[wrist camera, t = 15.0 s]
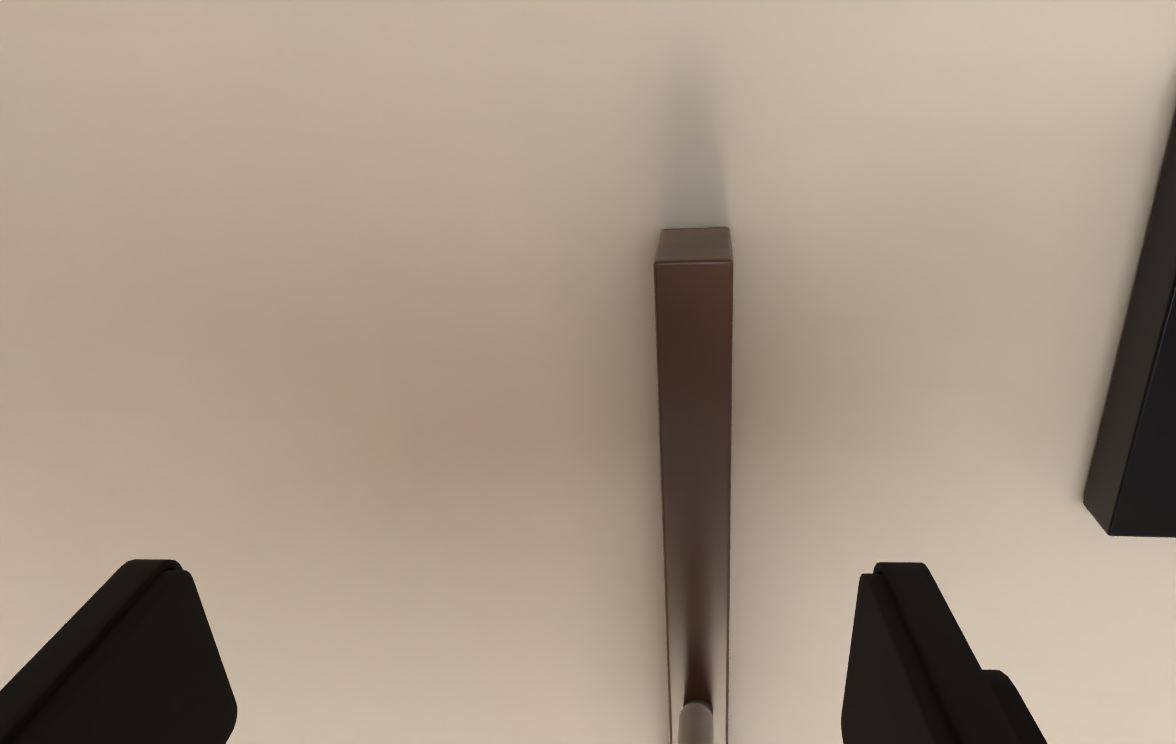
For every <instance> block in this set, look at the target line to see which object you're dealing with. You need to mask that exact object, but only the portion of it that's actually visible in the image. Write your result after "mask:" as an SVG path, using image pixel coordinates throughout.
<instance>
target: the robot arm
mask: <svg viewBox="0 0 1176 744" xmlns="http://www.w3.org/2000/svg"><path fill="white" fill-rule="evenodd" d="M236 718H237V704H236V701H235V698H234V695H233V692H232V689H231V686H230V684H229V681H228V678H227V675H226V672H225V669H224V666H223V663H222V661H221V658H220V655H219V652H218V649H217V646H216V643H215V641H214V638H213V635H212V632H211V629H210V626H209V623H208V620H207V618H206V615H205V612H204V609H203V606H202V603H201V600H200V597H199V595H198V592H197V589H196V586H195V583H194V580H193V578H192V576H191V574H190V573H189V572H188V571H185V570H183V569H182V567H181V565H180V564H179V563H178V562H177V561H175V560H148V559H134V560H131V561H128V562H126V563H125V564H124V565H123V566H121V567H120V568H119V569H118V570H117V571H116V572H115V573H114V574H113V576H112V577H111V578H110V579H109V580H108V581H107V582H106V583H105V584H104V585H103V586H102V587H101V588H100V589H99V590H98V591H97V592H96V593H95V594H94V595H93V596H92V597H91V598H90V599H89V600H88V601H87V602H86V603H85V604H84V605H83V606H82V607H81V608H80V609H79V610H78V611H77V613H76V614H75V615H74V616H73V617H72V618H71V619H70V620H69V621H68V622H67V623H66V624H65V625H64V626H63V627H62V628H61V629H60V630H59V631H58V632H57V633H56V634H55V635H54V636H53V637H52V638H51V639H50V640H49V641H48V642H47V643H46V644H45V645H44V646H43V647H42V649H41V650H40V651H39V652H38V653H37V654H36V655H35V656H34V657H33V658H32V659H31V660H30V661H29V662H28V663H27V664H26V665H25V666H24V667H23V668H22V669H21V670H20V671H19V672H18V673H17V674H16V675H15V676H14V677H13V678H12V679H11V680H10V681H9V682H8V683H7V684H6V686H5V687H4V688H3V689H2V690H1V691H0V744H226V742H227V740H228V738H229V737H230V735H231V733H232V731H233V729H234V726H235V723H236ZM841 729H842V738H843V743H844V744H1047V742H1046V740H1045V738H1044V736H1043V735H1042V733H1041V731H1040V729H1039V728H1038V726H1037V724H1036V722H1035V721H1034V719H1033V717H1032V715H1031V714H1030V712H1029V710H1028V708H1027V707H1026V705H1025V703H1024V701H1023V700H1022V698H1021V696H1020V694H1019V692H1018V691H1017V689H1016V687H1015V686H1014V684H1013V683H1012V682H1011V680H1010V679H1009V677H1008V676H1007V675H1005V674H1004V673H1003V672H1001V671H1000V670H982V669H981V667H980V665H979V663H978V661H977V660H976V658H975V656H974V654H973V652H972V650H971V648H970V646H969V644H968V643H967V641H966V639H965V637H964V635H963V633H962V631H961V629H960V628H959V626H958V624H957V622H956V620H955V618H954V616H953V614H952V612H951V611H950V609H949V607H948V605H947V603H946V601H945V599H944V597H943V596H942V594H941V592H940V590H939V588H938V586H937V584H936V582H935V580H934V579H933V577H932V575H931V573H930V571H929V569H928V568H927V567H926V565H925V564H923V563H914V562H879V563H877V564H876V565H875V567H874V571H873V574H862V575H861V577H860V580H859V587H858V594H857V602H856V609H855V617H854V625H853V632H852V640H851V647H850V655H849V662H848V670H847V678H846V685H845V693H844V700H843V708H842V716H841Z"/></svg>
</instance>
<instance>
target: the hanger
mask: <svg viewBox="0 0 1176 744" xmlns="http://www.w3.org/2000/svg"><path fill="white" fill-rule="evenodd" d="M654 293H655V321H656V350H657V379H658V407H659V436H660V465H661V493H662V522H663V551H664V579H665V608H666V636H667V665H668V694H669V722H670V744H728V694H729V605H730V515H731V426H732V337H733V254H732V244H731V235H730V229H729V228H727V227H723V228H693V229H664V230H662V231H661V235H660V239H659V243H658V247H657V252H656V256H655V260H654Z"/></svg>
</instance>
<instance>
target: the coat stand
mask: <svg viewBox="0 0 1176 744" xmlns="http://www.w3.org/2000/svg"><path fill="white" fill-rule="evenodd" d="M1083 503H1084V505H1085V507H1086V508H1087V509H1088V510H1089V512H1090V513H1091V514H1092V516H1093V517H1094V518H1095V519H1096V521H1097V522H1098V523H1099V524H1100V526H1101V527H1102V528H1103V529H1104V531H1105V532H1106V533H1107V534H1108V535H1110V536H1136V537H1175V538H1176V117H1175V121H1174V126H1173V130H1172V134H1171V138H1170V142H1169V146H1168V151H1167V155H1166V159H1165V163H1164V167H1163V172H1162V176H1161V180H1160V184H1159V188H1158V192H1157V197H1156V201H1155V205H1154V209H1153V213H1152V217H1151V222H1150V226H1149V230H1148V234H1147V238H1146V243H1145V247H1144V251H1143V255H1142V259H1141V263H1140V268H1139V272H1138V276H1137V280H1136V284H1135V288H1134V293H1133V297H1132V301H1131V305H1130V309H1129V314H1128V318H1127V322H1126V326H1125V330H1124V334H1123V339H1122V343H1121V347H1120V351H1119V355H1118V359H1117V364H1116V368H1115V372H1114V376H1113V380H1112V385H1111V389H1110V393H1109V397H1108V401H1107V405H1106V410H1105V414H1104V418H1103V422H1102V426H1101V430H1100V435H1099V439H1098V443H1097V447H1096V451H1095V456H1094V460H1093V464H1092V468H1091V472H1090V476H1089V481H1088V485H1087V489H1086V493H1085V497H1084V501H1083Z"/></svg>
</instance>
